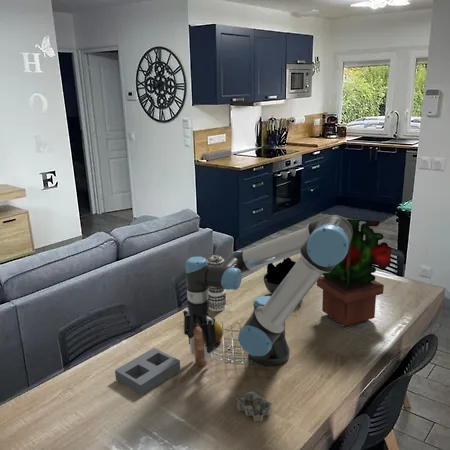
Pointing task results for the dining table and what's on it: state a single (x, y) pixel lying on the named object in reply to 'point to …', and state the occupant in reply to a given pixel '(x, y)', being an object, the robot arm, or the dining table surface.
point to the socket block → (147, 370)
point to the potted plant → (356, 277)
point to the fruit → (218, 331)
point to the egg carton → (258, 405)
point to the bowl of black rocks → (277, 274)
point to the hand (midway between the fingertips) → (200, 355)
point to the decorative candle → (216, 294)
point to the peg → (199, 347)
